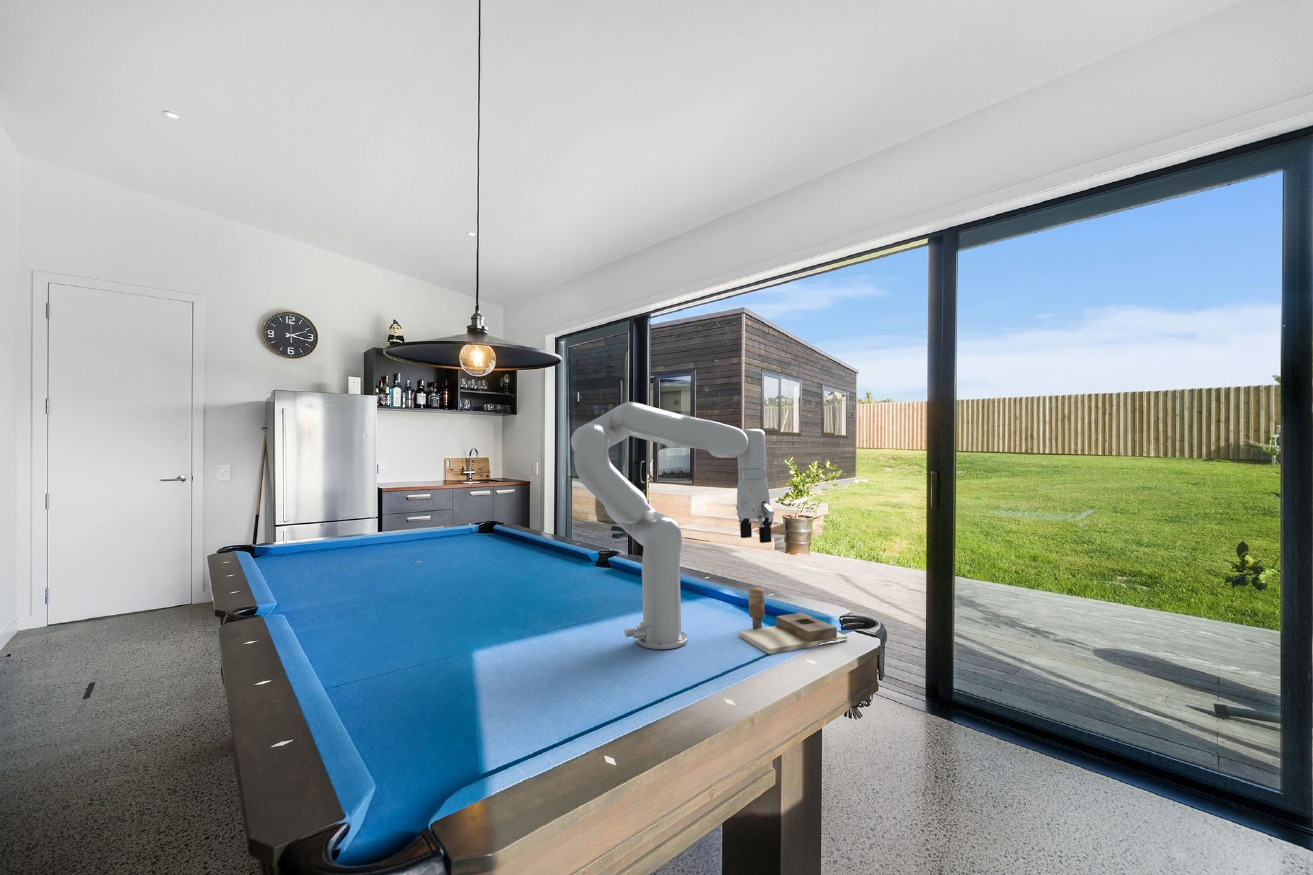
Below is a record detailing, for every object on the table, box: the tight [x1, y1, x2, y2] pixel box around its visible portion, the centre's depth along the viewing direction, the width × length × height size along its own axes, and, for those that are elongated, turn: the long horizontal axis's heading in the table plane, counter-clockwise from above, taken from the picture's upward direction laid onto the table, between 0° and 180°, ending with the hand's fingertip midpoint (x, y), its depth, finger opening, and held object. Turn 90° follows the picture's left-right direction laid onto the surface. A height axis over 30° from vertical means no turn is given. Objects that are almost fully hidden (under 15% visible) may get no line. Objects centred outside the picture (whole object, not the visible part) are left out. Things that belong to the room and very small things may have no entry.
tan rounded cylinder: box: [748, 586, 766, 630], centre depth 146 cm, size 4×4×10 cm
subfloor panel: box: [738, 612, 848, 655], centre depth 138 cm, size 22×14×4 cm, turn 111°
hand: (755, 539), depth 147 cm, fingers open, 9 cm apart
